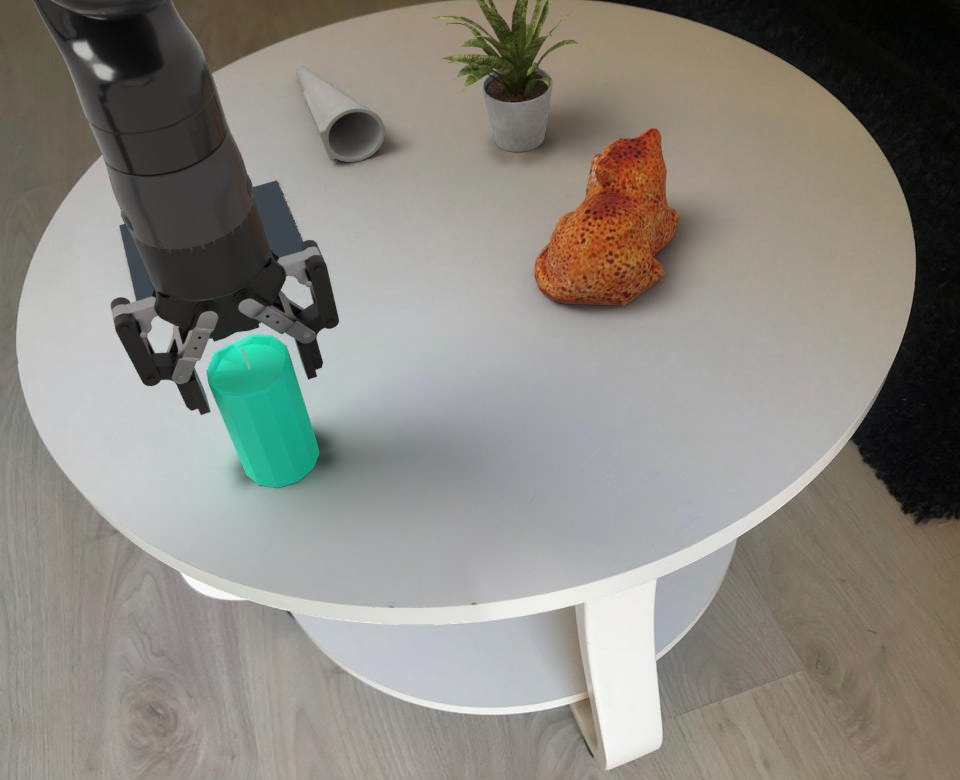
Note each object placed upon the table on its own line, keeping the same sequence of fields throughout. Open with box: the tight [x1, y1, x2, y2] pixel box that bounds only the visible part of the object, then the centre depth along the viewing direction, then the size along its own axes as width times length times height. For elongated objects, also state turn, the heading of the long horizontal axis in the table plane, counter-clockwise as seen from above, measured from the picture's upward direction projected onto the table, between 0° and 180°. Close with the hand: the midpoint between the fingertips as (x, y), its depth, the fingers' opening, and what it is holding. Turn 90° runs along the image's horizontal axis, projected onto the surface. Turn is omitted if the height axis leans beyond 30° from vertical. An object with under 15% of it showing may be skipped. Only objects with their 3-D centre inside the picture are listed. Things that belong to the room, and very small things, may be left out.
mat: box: [118, 180, 304, 302], centre depth 95 cm, size 16×14×1 cm
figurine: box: [533, 127, 681, 306], centre depth 85 cm, size 15×11×10 cm
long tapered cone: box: [295, 65, 386, 163], centre depth 107 cm, size 6×6×19 cm
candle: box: [206, 333, 321, 489], centre depth 72 cm, size 6×6×12 cm
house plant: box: [433, 0, 582, 153], centre depth 97 cm, size 14×14×16 cm
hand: (256, 387), depth 71 cm, fingers open, 7 cm apart
